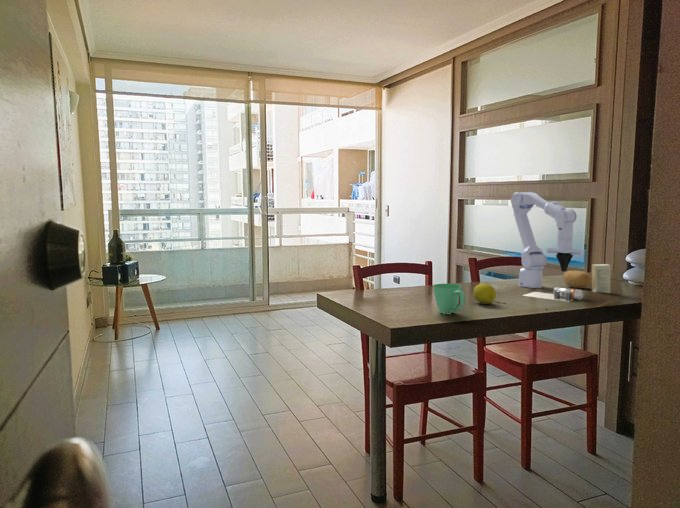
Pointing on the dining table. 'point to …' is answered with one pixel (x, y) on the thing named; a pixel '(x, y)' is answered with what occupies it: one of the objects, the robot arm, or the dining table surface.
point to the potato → (577, 279)
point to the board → (544, 296)
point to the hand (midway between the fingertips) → (564, 271)
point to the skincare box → (601, 278)
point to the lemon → (484, 293)
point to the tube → (575, 293)
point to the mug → (449, 297)
